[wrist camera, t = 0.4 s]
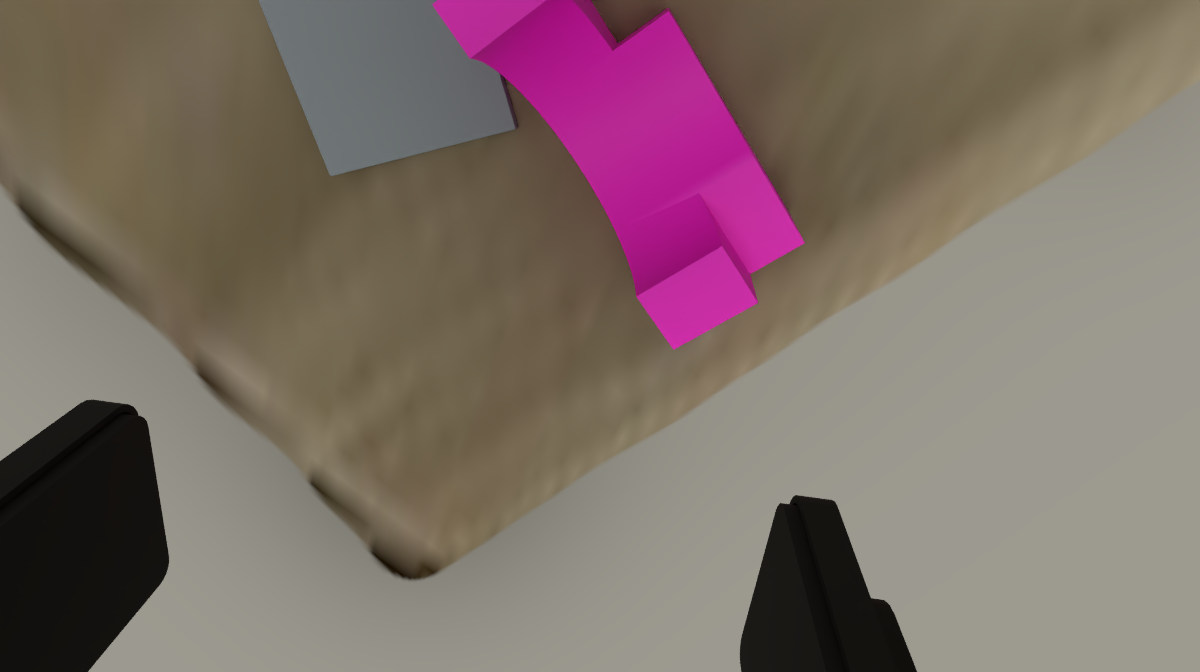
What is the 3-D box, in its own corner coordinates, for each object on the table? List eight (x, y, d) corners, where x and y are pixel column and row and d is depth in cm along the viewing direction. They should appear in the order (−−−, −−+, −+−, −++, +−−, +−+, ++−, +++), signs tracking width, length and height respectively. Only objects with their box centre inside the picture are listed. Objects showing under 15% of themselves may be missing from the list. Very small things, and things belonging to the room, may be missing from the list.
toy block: (788, 211, 34) (818, 269, 28) (671, 279, 36) (673, 349, 29) (605, -100, 29) (587, -122, 23) (482, -3, 31) (432, 4, 25)
